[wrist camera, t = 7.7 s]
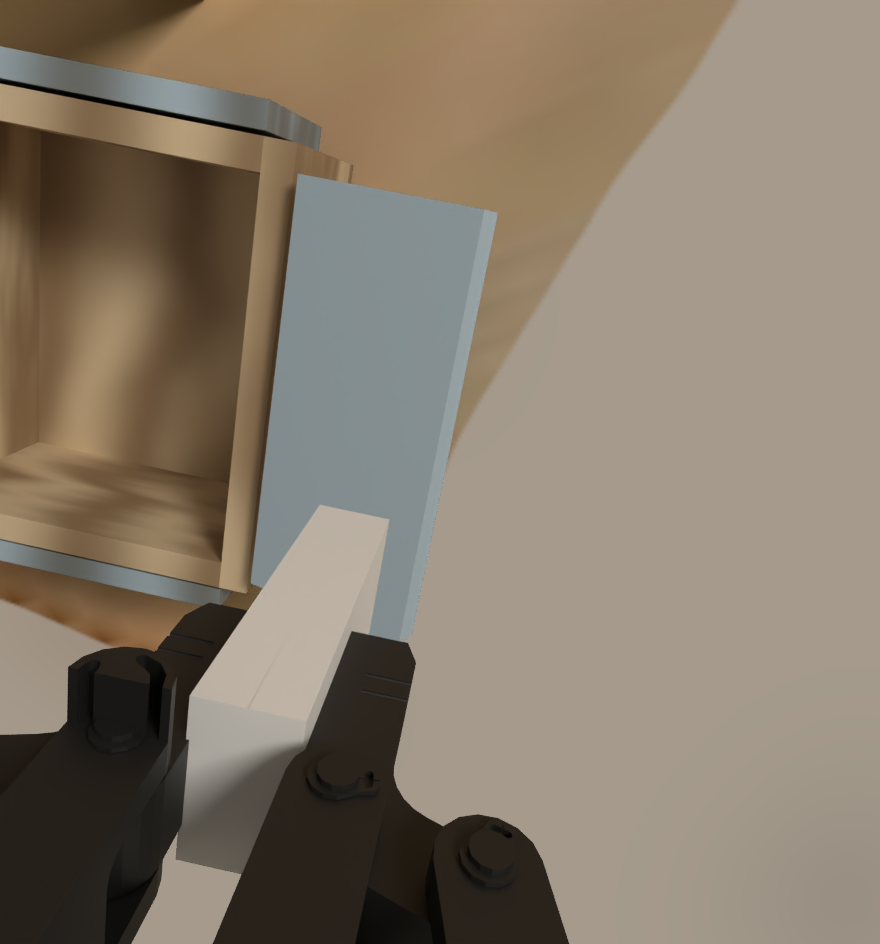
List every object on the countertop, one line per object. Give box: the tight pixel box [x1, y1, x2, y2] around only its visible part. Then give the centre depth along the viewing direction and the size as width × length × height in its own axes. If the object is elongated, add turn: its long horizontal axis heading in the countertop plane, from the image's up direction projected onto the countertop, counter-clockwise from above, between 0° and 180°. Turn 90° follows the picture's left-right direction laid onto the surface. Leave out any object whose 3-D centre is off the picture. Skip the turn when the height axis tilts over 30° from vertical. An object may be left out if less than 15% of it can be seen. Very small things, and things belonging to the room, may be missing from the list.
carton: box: [0, 46, 353, 606], centre depth 33 cm, size 16×20×9 cm
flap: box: [251, 174, 498, 642], centre depth 27 cm, size 1×16×7 cm
